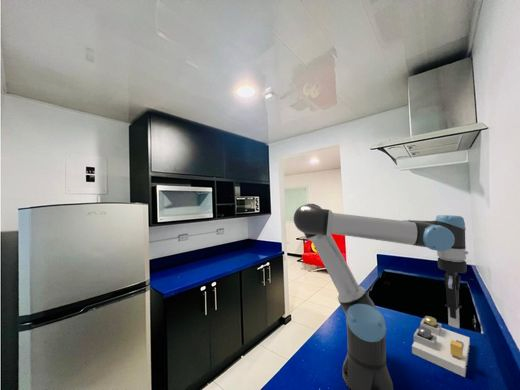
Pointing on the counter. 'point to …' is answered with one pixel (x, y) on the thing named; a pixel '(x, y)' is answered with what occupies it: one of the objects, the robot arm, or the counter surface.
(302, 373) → the counter surface
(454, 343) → the slider knob
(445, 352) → the console
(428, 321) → the brass button
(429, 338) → the grey button
